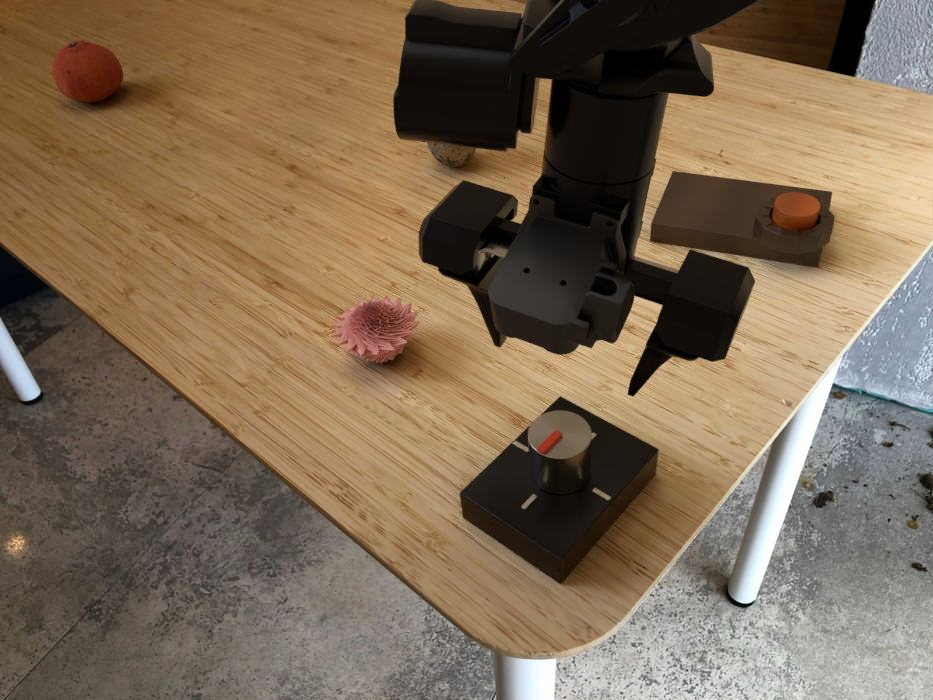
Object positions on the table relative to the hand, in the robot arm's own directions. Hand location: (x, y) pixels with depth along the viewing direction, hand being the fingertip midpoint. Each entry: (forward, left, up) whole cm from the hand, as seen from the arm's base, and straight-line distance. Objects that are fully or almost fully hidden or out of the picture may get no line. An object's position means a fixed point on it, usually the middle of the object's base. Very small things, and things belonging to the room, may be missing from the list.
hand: (564, 366), depth 55 cm
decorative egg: (+26, -41, -13) cm, 51 cm away
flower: (+20, -9, -13) cm, 26 cm away
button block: (-7, -37, -13) cm, 40 cm away
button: (-12, -34, -9) cm, 38 cm away
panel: (0, +1, -13) cm, 13 cm away
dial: (0, +1, -10) cm, 10 cm away
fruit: (+83, -45, -13) cm, 96 cm away
